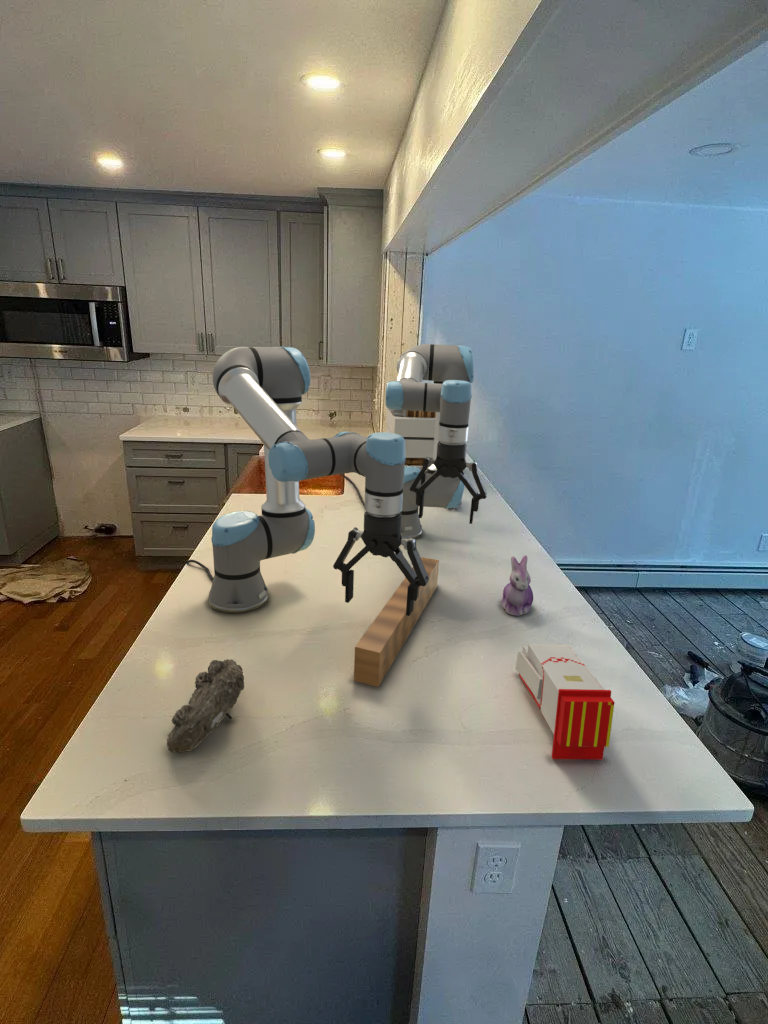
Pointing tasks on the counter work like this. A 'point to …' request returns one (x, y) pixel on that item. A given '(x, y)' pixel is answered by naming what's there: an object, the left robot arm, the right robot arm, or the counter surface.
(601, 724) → the toy
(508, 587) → the figurine
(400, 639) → the beam
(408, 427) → the firewood crate
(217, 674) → the fossil
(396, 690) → the counter surface
